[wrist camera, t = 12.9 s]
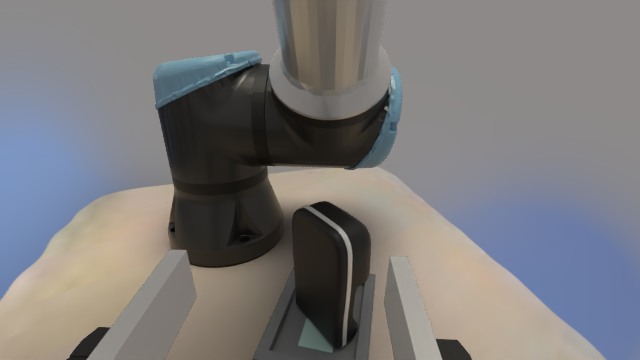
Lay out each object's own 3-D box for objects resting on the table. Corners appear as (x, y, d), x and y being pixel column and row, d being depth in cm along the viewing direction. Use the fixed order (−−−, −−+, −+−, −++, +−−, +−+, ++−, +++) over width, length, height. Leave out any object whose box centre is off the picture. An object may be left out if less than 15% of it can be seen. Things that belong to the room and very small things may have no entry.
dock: (296, 272, 36) (295, 262, 35) (374, 285, 34) (375, 274, 34) (253, 371, 25) (252, 358, 25) (364, 396, 23) (366, 384, 23)
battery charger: (370, 332, 28) (381, 224, 23) (337, 355, 26) (342, 241, 21) (323, 286, 33) (324, 190, 28) (292, 303, 31) (289, 202, 26)
